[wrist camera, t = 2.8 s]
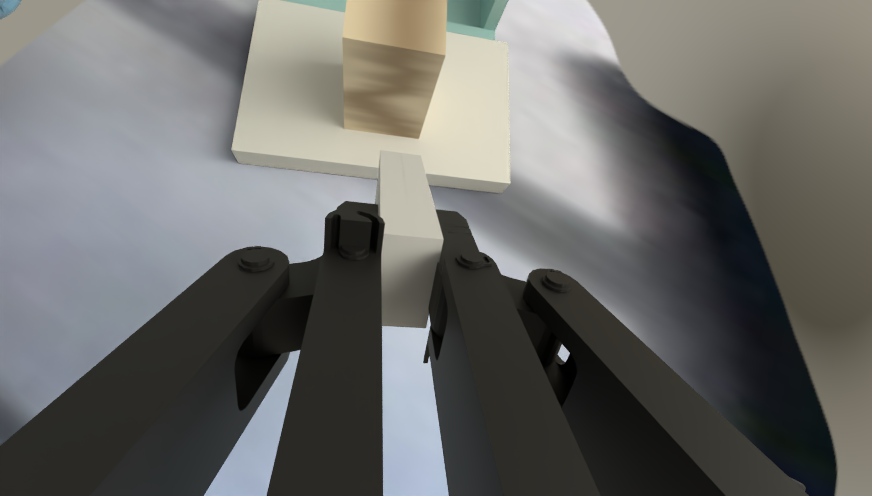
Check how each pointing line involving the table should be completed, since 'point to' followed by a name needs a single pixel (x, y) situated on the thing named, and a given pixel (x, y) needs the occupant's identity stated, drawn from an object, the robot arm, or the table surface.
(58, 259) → the table surface
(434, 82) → the maple block
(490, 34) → the box
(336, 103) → the cream board
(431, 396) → the table surface
